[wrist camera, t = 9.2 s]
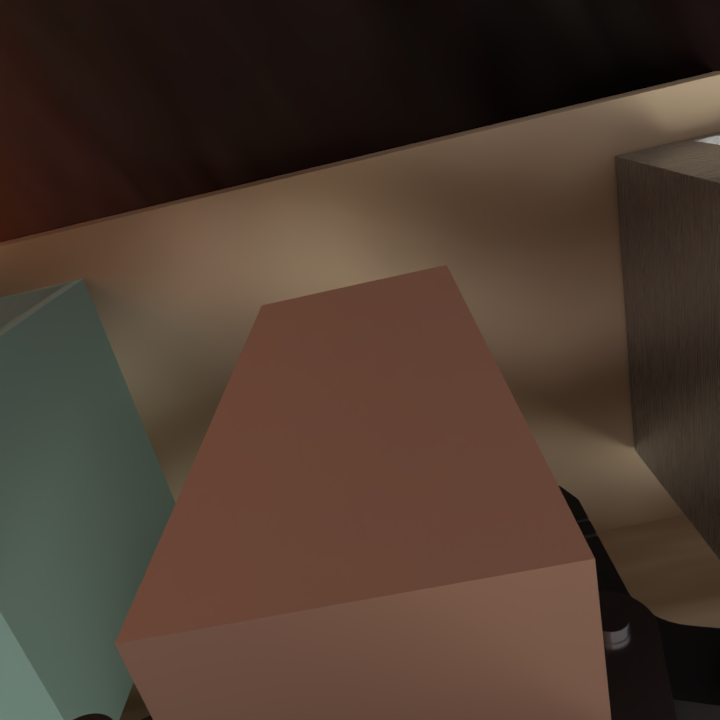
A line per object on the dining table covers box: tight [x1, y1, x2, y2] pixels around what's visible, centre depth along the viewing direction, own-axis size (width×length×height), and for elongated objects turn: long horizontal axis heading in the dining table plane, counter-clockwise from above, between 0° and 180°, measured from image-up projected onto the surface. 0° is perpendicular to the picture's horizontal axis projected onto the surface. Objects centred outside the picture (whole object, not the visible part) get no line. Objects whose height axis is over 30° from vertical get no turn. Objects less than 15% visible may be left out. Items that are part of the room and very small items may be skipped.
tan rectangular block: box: [115, 265, 611, 720], centre depth 11 cm, size 4×9×9 cm, turn 13°
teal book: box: [0, 279, 176, 720], centre depth 18 cm, size 10×4×9 cm, turn 13°
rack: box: [0, 71, 720, 720], centre depth 17 cm, size 16×25×12 cm, turn 103°
